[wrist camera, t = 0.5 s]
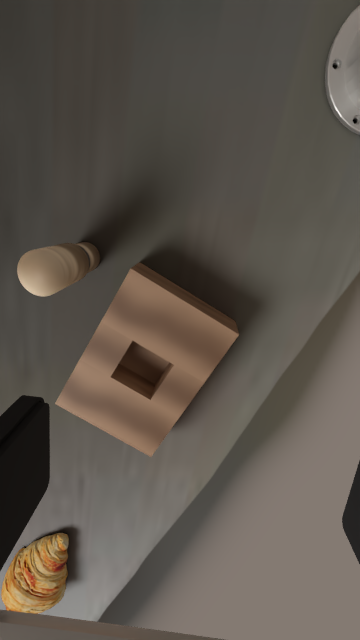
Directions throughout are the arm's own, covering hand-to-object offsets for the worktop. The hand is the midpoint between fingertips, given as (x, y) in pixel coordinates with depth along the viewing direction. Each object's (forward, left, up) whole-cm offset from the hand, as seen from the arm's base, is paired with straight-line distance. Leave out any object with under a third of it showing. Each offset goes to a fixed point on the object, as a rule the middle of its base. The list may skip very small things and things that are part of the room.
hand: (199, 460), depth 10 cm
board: (+13, 0, -33) cm, 35 cm away
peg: (+6, -13, -33) cm, 36 cm away
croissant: (+58, +4, -33) cm, 67 cm away
